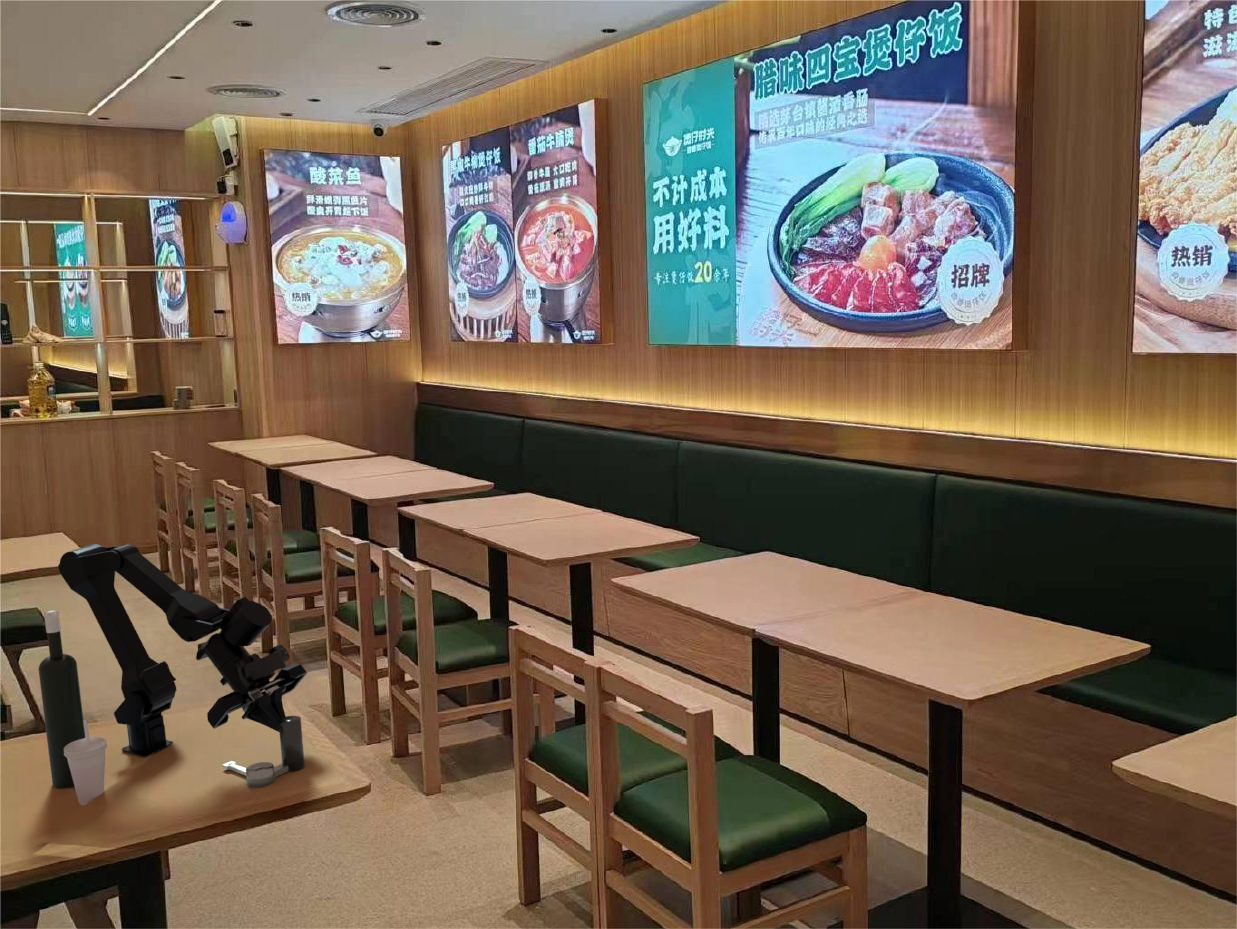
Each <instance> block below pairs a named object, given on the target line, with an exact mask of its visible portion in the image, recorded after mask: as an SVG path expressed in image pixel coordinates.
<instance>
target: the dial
mask: <svg viewBox="0 0 1237 929" xmlns="http://www.w3.org/2000/svg"><path fill="white" fill-rule="evenodd" d="M302 728H303V727H302V718H301V716H299V715H288V716H286V717H283V718H281V719H280V720H279V732H278V733H279V740H280V741H279V742H280V751H281V752H280V753H281V763H279V764H277V765H275V766H274V763H272V762H270V761H269V762H268V761H262V762H261V761H260V762H256V763H252V764H250V765H249V766H247V767H243V766H241V765H238V764H237V762H236V761H232V760H231V761H229V762H226V763H224V764H222V769H224V770H226V771H229V770H230V771H233V772H235V773H237V774H240V775H243V776H245V777H246V785H247V786H248V787H250V788H262V787H266V786H269V785H271V784H273V783H275V780H276V778H277V777H279V776H281V775H283V774H285V773H288V772H289V773H293V772H299V771H301V770H303V769H304V768H305V754H304V752H305V751H304V743H303V730H302Z"/></svg>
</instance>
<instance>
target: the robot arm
mask: <svg viewBox="0 0 1237 929" xmlns="http://www.w3.org/2000/svg"><path fill="white" fill-rule="evenodd" d="M57 565H58V567H57V568H58V571H59V574H60V575H61V578H63V579H64V581H65V583H66V584H67V585H68V588H70V590H71V591H73V592H74V593H76V594H77V595H78V596H80V597H82V598H83V599H85V600H86V601H87V604H88V606H89V607H90V609H91V612H92V614H93V615H94V617H95V620H96V622H97V624H98V625H99V627H100V629H101V632H102V633H103V635H104V638H105V640H106V641H107V643H108V645H109V647H110V649H111V651H112V653H113V656H114V657H115V660H116V661H117V663H118V665H119V667H120V669H121V686H120V690H121V692H122V696H123V698H124V700H123V701H122V702H121V703H120V705H119V706H118V707H117V708H116V710H114V712H113V716H114V718H115V721H116V724H119V725H126V729H127V736H128V737H127V738H128V745H126V746H124V747H121V752H123V753H126V754H131V755H133V756H138V757H141V758H146V757H149V756H151V755H153V754H155V753H157V752H158V753H159V752H160V751H162V750H164V749H166V748H168V747H170V746H171V745H173V744H174V741H172V740H169V739H167V735H166V726H165V722H164V720H165V719H164V715H163V714H162V713H164V712H165V711H169V709H171V707H172V702H173V700H174V698H175V696H176V692H177V685H176V683H175V681H177V679H176V677H175V676H174V675H173V674H172V672H171V669H170V666H169V664H168V663H167V662H166V661H165V660H163V661H161V662H157V661H156V660H154V659H152V658H151V657H150V655H149V654H148V652H147V650H146V648H145V646H144V644H143V642H142V640H141V637H140V636H139V633H138V632H137V629H136V627H135V626H134V624H133V622H132V620H131V618H130V616H129V614H128V613H127V610H126V608H125V606H124V604H123V603H122V600H121V598H120V596H119V595H118V592H117V590H116V588H115V581H116V580H115V578H116V573H117V574H119V575H120V576H121V577H122V578H123V579H124V580H126V581H127V582H128V583H129V584H131V585H132V586H133V587H134V588H135V589H136V590H138V591H139V592H140V593H141V594H142V595H144V597H146V598H147V599H148V600H149V601H151V602H152V603H153V604H154V605H156V606H157V607H158V608H159V609H161V611H162V612H163V613H164V615H165V618H166V620H167V624H168V625H169V626H170V628H171V629H172V631H174V632H175V633H176V635H177V636H179V638H180V639H181V640H183V641H184V642H187V643H192V642H193V643H194V642H197V641H199V640H202V639H203V638H206V637H208V636H210V635H211V636H210V637H209V638H208V639H207V640H206V641H204V642H201V643H198V644H197V651H196V655H195V659H196V660H197V661H200V660H204V659H207V658H208V660H210V662H211V663H212V664H213V666H214V667H215V669H216V670H217V671H218V673H219V674H220V675H221V676H222V678H221V679H220V680H219V682H220V683H221V685H222V686H225V685H228V686H229V687H230V689H231V690H232V691H231V692H229V693H227V694H226V695H223V696H221V697H219V698H217V700H216V702H214V703H213V705H212V706H211V707H210V709H209V710H208V711H207V712H206V714H207V715H206V718H207V722H208V723H209V725H210V726H211V727H212V729H214V730H215V729H217V728H218V727H221V726H223V725H225V724H227V723H228V721H229V714H231V713H233V712H235V711H237V710H240V709H242V711H243V714H242V715H241V719H242V720H246V719H248V720H250V721H253V722H256V723H259V724H261V725H263V726H264V727H268V728H269V729H271V730H274V731H276V732H278V733H280V732H279V720H280V719H281V718H283V717H287V716H286V713H285V709H284V703H283V696H285V695H286V694H289V693H292V691H293V690H295V689H296V688H297V687H298V685H299V684H300V682H301V681H302V680H303V679H304V678H305V676H306V675H307V674H308V672H307V670H306V668H305V667H304V666H303V665H302V664H301V663H296V662H295V663H292V664H290V665H288V666H287V664H286V662H287V661H290V659H291V655H290V654H289V652H288V649H286V647H285V646H284V645H283V644H282V643H280V644H277V645H275V646H272V647H270V648H269V649H268V655H265V656H263V657H261V656H260V654H257V653H252V654H250V652H248V650H247V648H245V647H250V646H251V645H253V643H254V642H255V641H256V640H257V639H258V638H259V637H260V636H261V634H262V633H264V631H265V630H266V629H267V627H269V625H270V624H271V623H272V619H273V618H272V614H271V612H270V611H269V609H268V608H267V607H266V606H265V605H262V604H261V603H258V602H256V601H254V600H249V599H248V598H247V597H246V596H242V597H240V598H238V599H236V600H235V602H234V603H233V605H232V607H231V608H230V609H228V608H224V607H219V606H218V604H216V603H215V602H213V601H211V600H210V599H208V598H206V597H205V596H203V595H201V594H197V593H194V592H189V591H187V590H185V588H183V587H182V586H180V585H179V584H178V583H176V582H175V581H174V580H173V579H172V578H171V577H170V576H168V575H167V574H165V572H163V571H162V570H161V569H159V568H158V567H157V566H156V565H154V563H153V562H151V561H150V560H149V559H147V558H146V557H145V556H144V555H142V553H141V552H140V550H139V548H137V546H135V545H133V544H129V543H128V544H124V545H113V546H107V547H106V546H104V545H100V544H97V543H93V544H92V543H91V544H90V545H86V546H82V547H80V548H76V549H72V550H69V551H66V552H64V553H63V554H62V556H61V558H60V559H59V564H57ZM219 630H220V632H217V631H219ZM215 632H217V633H215ZM278 670H280V671H279V672H278V674H277V675H276V671H278ZM275 675H276V676H275ZM274 676H275V677H274ZM272 678H273V680H271V679H272Z"/></svg>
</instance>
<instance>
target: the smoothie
mask: <svg viewBox="0 0 1237 929" xmlns="http://www.w3.org/2000/svg"><path fill="white" fill-rule="evenodd" d="M83 722H84V730H85V738H84V739H80V740H76V741H74V742H71V743H69V744H68V745H66V746H65V747H64V756H65V757H67V760H68V764H69V767H70V771H71V775H72V778H73V782H74V786H75V787H74V789H75V792H76V796H77V800H78V804H79V806H83V807H85V806H86V805H87V804H89V803H90V802H92V801H93V800H95V799H96V798H97V797H99V796H101V795H102V794H104V793H105V774H106V773H105V772H106V770H105V768H106V749H107V747H108V744H107V740H106V739H105V738H103V737H97V736H96V737H95V736H93V737H90V733H89V726H88V725H89V724H88V718H83Z"/></svg>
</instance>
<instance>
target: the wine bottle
mask: <svg viewBox="0 0 1237 929" xmlns="http://www.w3.org/2000/svg"><path fill="white" fill-rule="evenodd" d="M43 614H44V624H45V632H46V633H47V635H46V636H47V644H48V652H49V656H48V657H45V658H44V659H43V660H41V662H40V663H39V665H38V675H39V686H40V691H41V692H40V693H41V699H42V709H43V716H44V723H45V732H46V740H47V749H48V756H49V764H50V765H49V766H50V772H51V773H50V774H51V781H52V786H53V787H54V788H56V789H70V788H75V786H74V782H73V778H72V775H71V771H70V767H69V764H68V760H67V757H65V756H64V747H65V746H66V745H68V744H69V743H71V742H74V741H76V740H80V739H84V738H85V730H84V722H83V720H84V714H83V713H84V712H83V707H82V706H83V704H82V697H81V688H80V680H79V673H78V672H79V671H78V663H77V660H76V659H75V658H74V657H73V656H72V655H71V654H67V653H64V651H63V644H62V642H63V641H62V636H61V621H60V612H59V610H48V611H46V612H43Z"/></svg>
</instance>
